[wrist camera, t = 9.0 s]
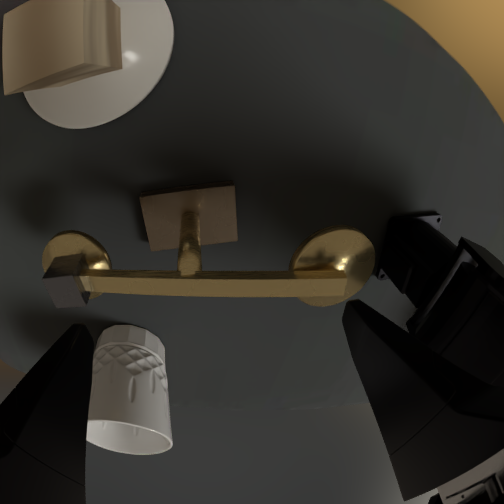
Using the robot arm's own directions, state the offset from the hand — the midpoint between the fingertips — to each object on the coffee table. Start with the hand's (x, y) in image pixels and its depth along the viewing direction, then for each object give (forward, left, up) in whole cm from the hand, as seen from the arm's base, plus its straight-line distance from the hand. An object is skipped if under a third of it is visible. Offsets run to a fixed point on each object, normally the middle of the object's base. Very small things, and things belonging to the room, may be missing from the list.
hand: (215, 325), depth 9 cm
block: (+6, -11, -10) cm, 16 cm away
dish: (+6, -11, -12) cm, 17 cm away
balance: (+1, +1, -12) cm, 12 cm away
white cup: (+9, +14, -12) cm, 21 cm away
